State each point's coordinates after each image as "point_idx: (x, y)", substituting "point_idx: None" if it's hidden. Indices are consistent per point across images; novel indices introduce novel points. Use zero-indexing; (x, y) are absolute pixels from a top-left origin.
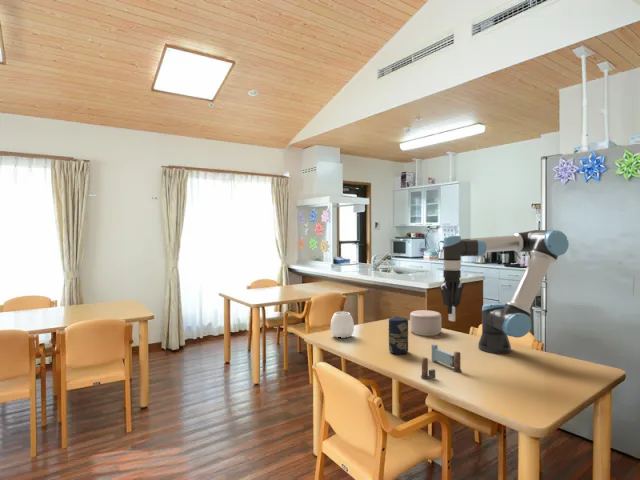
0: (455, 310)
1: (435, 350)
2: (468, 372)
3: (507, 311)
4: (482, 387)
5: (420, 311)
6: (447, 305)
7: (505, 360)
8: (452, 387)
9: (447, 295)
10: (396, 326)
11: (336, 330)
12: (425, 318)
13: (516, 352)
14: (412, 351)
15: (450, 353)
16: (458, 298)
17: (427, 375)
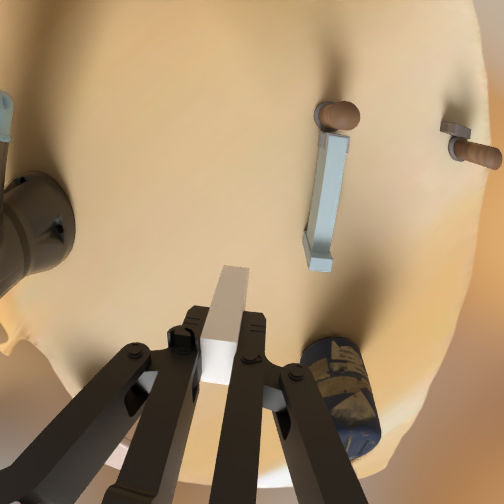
0: (192, 321)
1: (329, 242)
2: (304, 84)
3: None
4: None
5: (112, 462)
6: (306, 372)
7: (82, 115)
8: (448, 49)
9: (323, 474)
10: (376, 414)
11: (356, 473)
12: (127, 439)
13: (12, 165)
14: (285, 343)
15: (328, 164)
16: (115, 400)
17: (461, 140)
